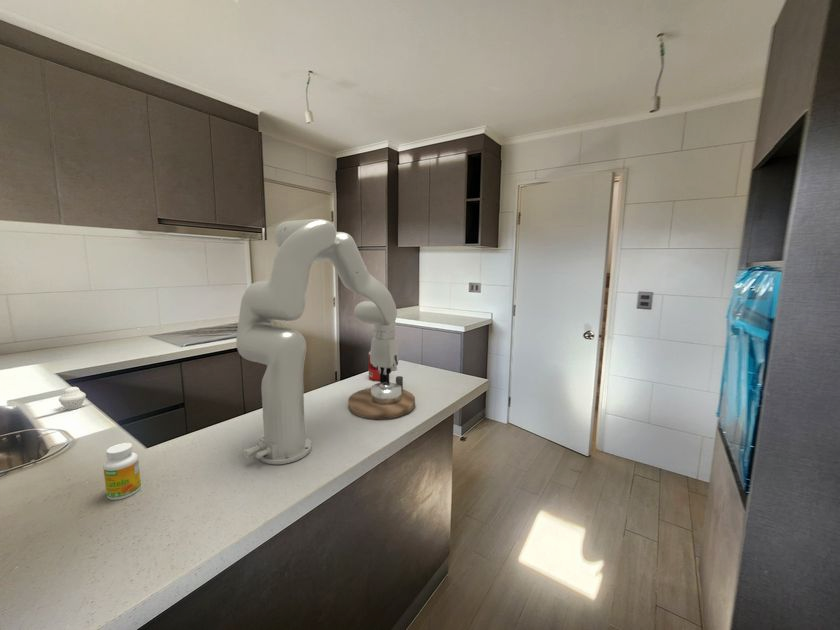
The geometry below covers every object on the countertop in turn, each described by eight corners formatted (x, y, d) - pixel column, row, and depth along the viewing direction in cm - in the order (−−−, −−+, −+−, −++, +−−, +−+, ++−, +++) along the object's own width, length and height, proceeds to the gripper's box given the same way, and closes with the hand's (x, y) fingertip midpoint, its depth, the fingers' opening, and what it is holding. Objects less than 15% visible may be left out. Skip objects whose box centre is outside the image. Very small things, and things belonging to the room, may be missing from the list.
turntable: (384, 425, 102) (384, 402, 101) (334, 406, 115) (333, 385, 114) (427, 402, 119) (428, 382, 118) (380, 387, 132) (380, 370, 131)
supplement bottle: (102, 503, 68) (96, 457, 67) (113, 487, 73) (107, 443, 72) (136, 496, 70) (131, 451, 69) (144, 481, 75) (140, 439, 74)
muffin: (80, 410, 110) (77, 389, 109) (55, 413, 108) (52, 391, 107) (91, 403, 116) (88, 382, 115) (67, 405, 114) (64, 384, 113)
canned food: (384, 382, 140) (384, 355, 139) (365, 380, 142) (365, 354, 140) (390, 376, 148) (390, 350, 146) (372, 374, 149) (372, 349, 148)
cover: (388, 407, 110) (388, 392, 109) (364, 400, 115) (364, 385, 114) (407, 397, 118) (407, 383, 117) (384, 391, 123) (384, 377, 123)
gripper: (362, 333, 126) (362, 382, 129) (394, 339, 118) (393, 391, 120) (376, 330, 132) (376, 377, 135) (407, 335, 124) (407, 385, 126)
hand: (384, 384), depth 128 cm, fingers closed
